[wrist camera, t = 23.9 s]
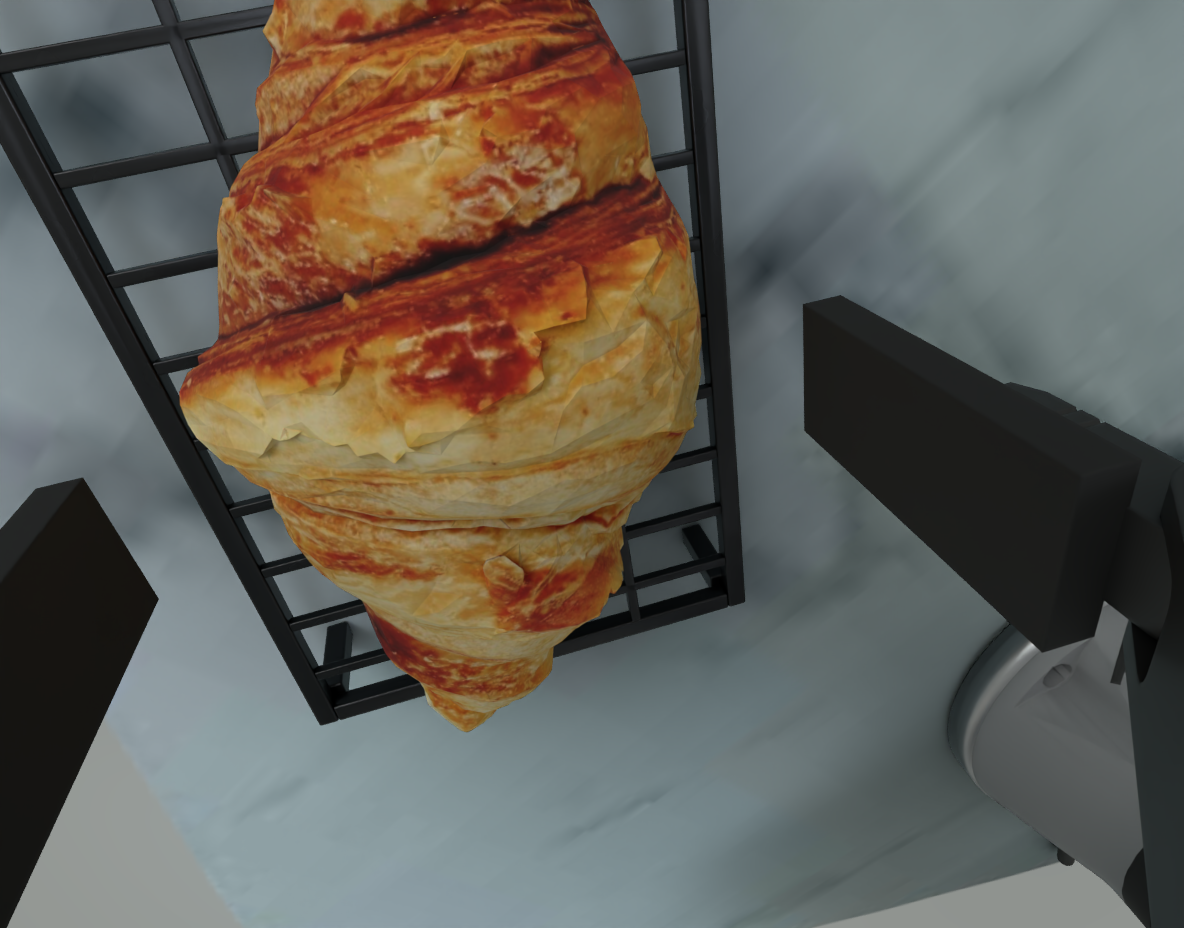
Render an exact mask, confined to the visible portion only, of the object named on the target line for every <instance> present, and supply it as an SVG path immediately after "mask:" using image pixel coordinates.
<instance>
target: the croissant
mask: <svg viewBox="0 0 1184 928" xmlns="http://www.w3.org/2000/svg"><path fill="white" fill-rule="evenodd" d="M263 33H264V35H265V36H266V38H267V40H268V42H269V43H270V45H271V47H272V49H273V52H272V58H271V65H270V71H269V77H268V78H267V79H266V80H265V81H264V82H263V83H262V84H261V85H260V86H259V87H258V88H257V94H256V102H255V106H256V109H257V116H258V119H259V143H258V153H257V154H255V155H254V156H253V157H251V158H250V159H249V160H248V161H247V162H246V163H245V164H244V165H243V167H242V169H241V170H240V172H239V174H238V176H237V177H236V179H235V181H234V183H233V185H232V186H231V189H230V193H229V197H227V198H223V202H222V206H221V207H220V214H219V222H218V230H217V246H218V303H219V337H218V340H217V341H216V343H215V344H214V345H213V346H212V347H211V348H209V349H208V350H207V351H205V352H204V353H202V354H201V355H199V356H198V361H199V366H197V367H195V368H193V369H192V370H191V371H190V372H188V373H187V376H186V378H185V380H184V382H183V385H182V387H181V389H180V392H179V395H180V406H181V409H182V411H183V414H184V416H185V418H186V421H187V423H188V425H189V427H190V428H191V430H192V432H193V433H194V435H195V436H196V438H197V439H198V440H200V441H201V442H202V443H203V444H204V445H205V446H206V447H207V448H208V449H209V450H210V451H212V452H213V453H214V454H215V455H216V456H217V457H218V458H219V459H220V460H222V461H223V462H224V463H225V464H228V465H231V466H234V467H235V468H236V469H237V470H238V471H239V472H240V473H241V474H242V475H243V476H245V477H246V478H247V479H248V480H249V481H250V482H251V483H254V484H256V485H258V486H261V487H263V488H265V489H268V490H269V492H270V494H271V498H272V502H273V505H274V509H275V510H276V511H277V512H278V513H279V514H280V515H281V517H282V519H283V522H284V524H285V527H286V529H287V532H288V534H289V536H290V537H291V539H292V540H293V542H294V543H295V544H296V546H297V547H298V548H299V549H300V551H301V552H302V553H303V554H304V555H305V557H306V558H307V559H308V560H309V562H310V563H311V564H312V565H313V566H314V567H315V568H316V569H317V570H318V571H319V572H320V573H321V574H322V575H324V576H325V577H327V578H328V579H329V580H331V581H332V582H333V583H334V584H336V585H337V586H338V587H339V588H341V589H343V590H344V591H346V592H348V593H350V594H351V595H353V596H355V597H357V598H358V599H360V600H362V601H363V603H364V606H365V608H366V611H367V613H368V616H369V618H370V620H371V623H372V625H373V628H374V630H375V633H376V635H377V637H378V639H379V641H380V643H381V645H382V647H383V649H384V651H385V653H386V655H387V656H388V657H389V658H390V660H391V661H392V662H393V663H394V664H395V666H396V667H398V668H399V669H401V670H402V671H404V672H405V673H407V674H409V675H410V676H412V677H413V678H415V679H416V680H418V681H419V682H420V683H421V685H422V686H423V688H424V690H425V694H426V698H427V702H428V705H430V706H431V707H432V708H433V709H434V710H435V711H437V712H438V713H439V714H440V715H441V716H442V717H444V718H445V719H446V720H448V721H449V722H450V723H451V724H453V725H454V726H455V727H457V728H458V729H459V730H461V731H464V732H469V731H471V730H473V729H474V728H476V727H478V726H479V725H481V724H482V723H484V722H485V721H486V719H488V718H490V717H491V716H492V715H493V714H494V712H495V711H496V710H497V709H499V708H501V707H504V706H507V705H509V704H510V703H511V702H513V701H515V700H518V699H521V698H523V697H524V696H526V695H527V694H529V693H531V692H532V691H533V690H534V689H535V688H536V687H537V686H538V685H539V684H540V683H541V682H542V681H543V680H544V679H545V678H546V677H547V676H548V675H549V674H550V672H551V670H552V663H553V646H555V645H557V644H558V643H560V642H562V641H563V640H564V639H565V638H566V637H567V636H568V635H569V634H570V633H571V632H573V631H574V630H575V629H576V628H578V627H580V626H581V625H583V624H584V623H586V622H587V621H589V620H592V619H594V618H596V617H598V616H600V613H601V610H602V608H603V606H604V605H605V604H606V603H607V601H608V597H609V593H612V594H615V593H616V591H617V590H618V589H619V588H620V586H621V584H622V580H623V576H622V571H624V570H623V562H622V558H621V553H620V550H621V548H622V546H623V544H624V542H623V535H622V527H621V526H622V525H624V524H625V523H626V522H627V519H628V516H629V513H630V510H631V507H632V504H634V503H636V502H638V501H639V500H640V497H641V495H642V492H643V490H644V489H645V488H646V487H648V486H649V484H650V482H651V480H652V479H653V478H654V477H655V476H656V475H657V474H658V473H659V472H660V471H661V470H662V469H663V468H664V467H665V466H666V465H667V464H668V463H669V461H670V460H671V459H672V457H673V456H674V455H675V453H676V452H677V451H678V449H679V447H680V445H681V443H682V441H683V439H684V437H685V435H686V432H687V431H688V430H690V429H692V428H694V422H693V420H694V419H695V417H696V416H697V412H696V407H695V403H696V398H697V393H698V388H699V383H700V378H701V369H700V363H699V354H700V349H701V344H702V339H701V321H700V308H699V301H698V294H697V288H696V284H695V280H694V276H693V269H692V261H691V252H690V244H689V236H688V234H687V231H686V229H685V227H684V224H683V222H682V220H681V218H680V216H679V214H678V212H677V211H676V209H675V207H674V205H673V204H672V202H671V200H670V199H669V197H668V195H667V194H666V192H665V190H664V188H663V187H662V185H661V183H660V181H659V179H658V178H657V175H656V172H655V169H654V165H653V162H652V159H651V152H650V145H649V138H648V130H647V127H646V124H645V122H644V120H643V117H642V115H641V103H640V99H639V96H638V92H637V88H636V85H635V81H634V79H633V77H632V74H631V72H630V71H629V69H628V68H627V66H626V65H625V64H624V62H623V61H622V59H621V58H620V56H619V54H618V53H617V51H616V49H615V47H614V45H613V44H612V42H611V40H610V38H609V37H608V35H607V33H606V31H605V29H604V28H603V26H602V24H601V22H600V20H599V17H598V15H597V13H596V11H595V10H594V8H593V7H592V5H591V4H590V2H589V1H588V0H275V1H274V5H273V10H272V14H271V16H270V18H269V20H268V22H267V24H266V26H265V28H264V30H263Z"/></svg>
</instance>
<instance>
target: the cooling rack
mask: <svg viewBox="0 0 1184 928" xmlns="http://www.w3.org/2000/svg"><path fill="white" fill-rule="evenodd" d="M152 2H153V4H154V7H155V9H156V12H157V14H158V17H159V19H160V22H161V24H162V25H158V26H152V27H147V28H141V29H136V30H130V31H124V32H119V33H113V34H107V35H102V36H96V37H91V38H85V39H79V40H74V41H68V42H62V43H57V44H51V45H46V46H40V47H34V48H29V49H23V50H17V51H12V52H6V53H2V52H1V50H0V144H1V145H2V147H3V149H4V151H5V153H6V154H7V156H8V158H9V160H10V162H11V164H12V165H13V167H14V169H15V171H16V173H17V175H18V176H19V178H20V180H21V182H22V184H23V185H24V187H25V189H26V191H27V193H28V195H29V196H30V198H31V200H32V202H33V204H34V205H35V207H36V209H37V211H38V213H39V215H40V216H41V218H42V220H43V222H44V224H45V225H46V227H47V229H48V231H49V233H50V235H51V236H52V238H53V240H54V242H55V244H56V245H57V247H58V249H59V251H60V253H61V255H62V256H63V258H64V260H65V262H66V264H67V266H68V267H69V269H70V271H71V273H72V275H73V276H74V278H75V280H76V282H77V284H78V286H79V287H80V289H81V291H82V293H83V295H84V296H85V298H86V300H87V302H88V304H89V306H90V307H91V309H92V311H93V313H94V315H95V316H96V318H97V320H98V322H99V324H100V326H101V327H102V329H103V331H104V333H105V335H106V337H107V338H108V340H109V342H110V344H111V346H112V347H113V349H114V351H115V353H116V355H117V357H118V358H119V360H120V362H121V364H122V366H123V367H124V369H125V371H126V373H127V375H128V377H129V378H130V380H131V382H132V384H133V386H134V387H135V389H136V391H137V393H138V395H139V397H140V398H141V400H142V402H143V404H144V406H145V408H146V409H147V411H148V413H149V415H150V417H151V418H152V420H153V422H154V424H155V426H156V428H157V429H158V431H159V433H160V435H161V437H162V438H163V440H164V442H165V444H166V446H167V448H168V449H169V451H170V453H171V455H172V457H173V458H174V460H175V462H176V464H177V466H178V468H179V469H180V471H181V473H182V475H183V477H184V479H185V480H186V482H187V484H188V486H189V488H190V489H191V491H192V493H193V495H194V497H195V499H196V500H197V502H198V504H199V506H200V508H201V509H202V511H203V513H204V515H205V517H206V519H207V520H208V522H209V524H210V526H211V528H212V529H213V531H214V533H215V535H216V537H217V539H218V540H219V542H220V544H221V546H222V548H223V549H224V551H225V553H226V555H227V557H228V559H229V560H230V562H231V564H232V566H233V568H234V570H235V571H236V573H237V575H238V577H239V579H240V580H241V582H242V584H243V586H244V588H245V590H246V591H247V593H248V595H249V597H250V599H251V600H252V602H253V604H254V606H255V608H256V610H257V611H258V613H259V615H260V617H261V619H262V620H263V622H264V624H265V626H266V628H267V630H268V631H269V633H270V635H271V637H272V639H273V641H274V642H275V644H276V646H277V648H278V650H279V651H280V653H281V655H282V657H283V659H284V661H285V662H286V664H287V666H288V668H289V670H290V671H291V673H292V675H293V677H294V679H295V681H296V682H297V684H298V686H299V688H300V690H301V691H302V693H303V695H304V697H305V699H306V701H307V702H308V704H309V706H310V708H311V710H312V712H313V713H314V715H315V717H316V719H317V721H318V722H319V724H320V725H325V724H329V723H332V722H336V721H338V720H339V719H340V720H342V719H346V718H349V717H353V716H356V715H360V714H363V713H367V712H370V711H373V710H377V709H380V708H384V707H387V706H391V705H394V704H397V703H401V702H404V701H408V700H411V699H415V698H418V697H422V696H425V695H426V694H425V690H424V688H423V686H422V685H421V683H420V682H419V681H418V680H416V679H415V678H413V677H412V676H410V675H409V674H405V675H402V676H398V677H395V678H391V679H388V680H384V681H381V682H377V683H374V684H370V685H367V686H363V687H360V688H356V689H353V690H349V679H350V671H353V670H356V669H360V668H363V667H367V666H370V665H374V664H377V663H381V662H384V661H388V660H390V658H389V657H388V656H387V655H386V653H385V651H384V649H383V648H381V649H378V650H374V651H371V652H367V653H364V654H360V655H356V656H353V657H351V653H352V640H353V634H352V632H351V630H350V627H349V625H348V623H347V622H343V623H339V624H335V625H332V626H329V627H328V628H327V636H326V644H325V652H324V661H323V665H321V666H318V664H317V662H316V660H315V658H314V656H313V654H312V652H311V650H310V648H309V646H308V644H307V642H306V640H305V639H304V637H303V635H302V633H301V631H300V630H302V629H305V628H309V627H313V626H316V625H320V624H324V623H327V622H331V621H334V620H338V619H342V618H345V617H349V616H353V615H356V614H360V613H363V612H367V611H366V608H365V606H364V603H363V601H362V600H360V599H359V600H355V601H351V602H348V603H344V604H340V605H337V606H333V607H329V608H326V609H322V610H318V611H315V612H311V613H307V614H304V615H300V616H296V617H293V615H292V613H291V611H290V610H289V608H288V606H287V604H286V602H285V600H284V598H283V596H282V594H281V592H280V590H279V588H278V586H277V584H276V582H275V580H274V579H273V577H272V576H275V575H279V574H283V573H287V572H290V571H294V570H298V569H302V568H306V567H309V566H313V565H312V564H311V563H310V562H309V560H308V559H307V558H306V557H305V555H304V554H303V553H302V554H299V555H295V556H291V557H287V558H283V559H280V560H276V561H272V562H268V563H265V561H264V559H263V557H262V555H261V553H260V551H259V549H258V548H257V546H256V544H255V542H254V540H253V538H252V536H251V534H250V532H249V530H248V528H247V526H246V524H245V522H244V520H243V519H242V517H241V516H245V515H249V514H253V513H257V512H261V511H265V510H269V509H273V508H274V505H273V502H272V498H271V494H267V495H263V496H259V497H255V498H252V499H248V500H244V501H240V502H236V503H234V501H233V499H232V497H231V495H230V493H229V491H228V489H227V488H226V486H225V484H224V482H223V480H222V478H221V476H220V474H219V472H218V470H217V468H216V466H215V464H214V462H213V460H212V458H211V457H210V455H209V453H208V451H207V449H208V448H207V447H206V446H205V445H204V444H203V443H202V442H201V441H200V440H198V439H197V438H196V436H195V435H194V433H193V432H192V430H191V428H190V427H189V425H188V423H187V421H186V418H185V416H184V414H183V411H182V409H181V406H180V397H179V395H178V393H177V391H176V389H175V387H174V385H173V383H172V381H171V379H170V377H169V375H168V373H172V372H176V371H180V370H185V369H189V368H193V367H197V366H199V361H198V356H199V355H201V354H202V353H204V352H205V351H207V350H208V349H209V348H211V347H208V348H203V349H199V350H195V351H190V352H186V353H182V354H177V355H173V356H168V357H164V358H159V356H158V354H157V352H156V350H155V348H154V346H153V344H152V342H151V340H150V338H149V336H148V335H147V333H146V331H145V329H144V327H143V325H142V323H141V321H140V319H139V317H138V315H137V313H136V311H135V309H134V307H133V305H132V304H131V302H130V300H129V298H128V296H127V294H126V292H125V290H124V288H123V287H125V286H130V285H135V284H139V283H144V282H148V281H153V280H158V279H162V278H167V277H172V276H176V275H181V274H185V273H190V272H195V271H199V270H204V269H209V268H213V267H218V249H216V250H211V251H207V252H202V253H197V254H193V255H188V256H183V257H178V258H174V259H169V260H164V261H160V262H155V263H150V264H146V265H141V266H136V267H132V268H127V269H122V270H118V271H114V269H113V267H112V265H111V263H110V261H109V259H108V257H107V255H106V253H105V251H104V249H103V247H102V245H101V244H100V242H99V240H98V238H97V236H96V234H95V232H94V230H93V228H92V226H91V224H90V222H89V220H88V218H87V216H86V214H85V213H84V211H83V209H82V207H81V205H80V203H79V201H78V199H77V197H76V195H75V193H74V191H73V189H72V187H77V186H82V185H87V184H92V183H97V182H102V181H107V180H112V179H117V178H122V177H127V176H132V175H137V174H142V173H147V172H152V171H158V170H163V169H168V168H173V167H178V166H183V165H188V164H193V163H198V162H203V161H208V160H213V159H217V162H218V164H219V167H220V169H221V172H222V174H223V177H224V179H225V181H226V184H227V186H228V189H229V191H230V189H231V186H232V185H233V183H234V181H235V179H236V177H237V176H238V174H239V172H240V169H239V166H238V164H237V161H236V159H235V156H234V155H238V154H243V153H248V152H253V151H258V143H259V132H257V133H252V134H247V135H242V136H237V137H232V138H227V136H226V133H225V131H224V128H223V126H222V123H221V120H220V118H219V115H218V113H217V110H216V108H215V105H214V103H213V100H212V98H211V95H210V92H209V90H208V87H207V85H206V82H205V80H204V77H203V75H202V72H201V70H200V67H199V64H198V62H197V59H196V57H195V54H194V52H193V49H192V47H191V44H190V42H189V41H190V40H196V39H201V38H207V37H213V36H218V35H224V34H229V33H235V32H240V31H246V30H251V29H257V28H262V27H265V26H266V24H267V22H268V20H269V18H270V16H271V14H272V10H273V5H271V6H265V7H259V8H254V9H248V10H242V11H237V12H231V13H226V14H220V15H214V16H209V17H203V18H197V19H192V20H186V21H181V19H180V16H179V14H178V11H177V9H176V6H175V3H174V1H173V0H152ZM673 2H674V14H675V26H676V38H677V50H673V51H668V52H663V53H658V54H653V55H648V56H643V57H638V58H633V59H628V60H623V62H624V64H625V65H626V66H627V68H628V69H629V71H630V72H631V74H632V76H633V75H638V74H643V73H648V72H653V71H658V70H663V69H668V68H673V67H678V66H679V74H680V86H681V98H682V110H683V122H684V134H685V146H686V149H684V150H680V151H675V152H670V153H665V154H661V155H656V156H651V159H652V162H653V165H654V169H655V172H657V171H662V170H666V169H671V168H676V167H680V166H685V165H687V170H688V182H689V194H690V206H691V218H692V230H693V237H690V238H689V244H690V252H691V253H692V252H694V255H695V267H696V279H697V291H698V301H699V308H700V321H701V339H702V351H703V363H704V375H705V384H702V385H699V388H698V393H697V398H696V400H699V399H703V398H706V399H707V411H708V423H709V435H710V446H708V447H705V448H701V449H697V450H693V451H689V452H686V453H682V454H678V455H674V456H673V457H672V459H671V460H670V461H669V463H668V464H667V465H666V466H665V467H664V468H663V469H662V470H661V471H660V472H659V473H663V472H667V471H670V470H674V469H678V468H682V467H685V466H689V465H693V464H697V463H700V462H704V461H708V460H712V471H713V483H714V495H715V502H714V503H710V504H707V505H703V506H699V507H696V508H692V509H688V510H685V511H681V512H677V513H674V514H670V515H666V516H663V517H659V518H655V519H652V520H648V521H644V522H641V523H637V524H633V525H630V526H625V524H624V525H622V526H621V527H622V535H623V542H624V544H623V546H622V548H621V550H620V553H621V558H622V562H623V570H624V571H622V574H623V581H622V584H621V586H620V588H619V589H618V590H617V591H616V593H615V594H612V593H609V597H608V598H610V597H613V596H617V595H620V594H624V593H626V596H627V602H628V608H629V610H628V611H625V612H621V613H618V614H614V615H611V616H607V617H604V618H600V619H597V620H593V621H590V622H586V623H584V624H583V625H581V626H580V627H578V628H576V629H575V630H574V631H573V632H571V633H570V634H569V635H568V636H567V637H566V638H565V639H564V640H563V641H562V642H560V643H558V644H557V645H555V646H553V658H555V657H559V656H562V655H566V654H569V653H573V652H576V651H580V650H583V649H586V648H590V647H593V646H597V645H600V644H604V643H607V642H610V641H614V640H617V639H621V638H624V637H628V636H631V635H635V634H638V633H641V632H645V631H648V630H652V629H655V628H659V627H662V626H665V625H669V624H672V623H676V622H679V621H683V620H686V619H689V618H693V617H696V616H700V615H703V614H707V613H710V612H714V611H717V610H720V609H724V608H727V607H728V605H729V606H734V605H738V604H741V603H744V602H745V589H744V573H743V557H742V540H741V524H740V508H739V492H738V475H737V459H736V443H735V426H734V410H733V394H732V378H731V361H730V345H729V329H728V312H727V296H726V280H725V263H724V247H723V231H722V215H721V198H720V182H719V166H718V149H717V133H716V117H715V101H714V84H713V68H712V52H711V35H710V19H709V3H708V0H673ZM168 44H170V46H171V49H172V51H173V54H174V56H175V59H176V61H177V63H178V66H179V68H180V71H181V73H182V76H183V78H184V81H185V83H186V86H187V88H188V90H189V93H190V95H191V98H192V100H193V103H194V105H195V108H196V110H197V113H198V115H199V118H200V120H201V122H202V125H203V127H204V130H205V132H206V135H207V137H208V140H209V142H206V143H201V144H196V145H191V146H186V147H181V148H176V149H171V150H165V151H160V152H155V153H150V154H145V155H140V156H135V157H130V158H125V159H120V160H115V161H110V162H105V163H99V164H94V165H89V166H84V167H79V168H74V169H69V170H64V171H63V170H62V168H61V166H60V164H59V162H58V160H57V158H56V156H55V154H54V153H53V151H52V149H51V147H50V145H49V143H48V141H47V139H46V137H45V135H44V133H43V131H42V129H41V127H40V125H39V123H38V122H37V120H36V118H35V116H34V114H33V112H32V110H31V108H30V106H29V104H28V102H27V100H26V98H25V96H24V94H23V92H22V91H21V89H20V87H19V85H18V83H17V81H16V79H15V77H14V75H13V73H14V72H19V71H25V70H30V69H36V68H41V67H47V66H52V65H58V64H63V63H69V62H74V61H80V60H85V59H91V58H96V57H102V56H108V55H113V54H119V53H124V52H130V51H135V50H141V49H146V48H152V47H157V46H163V45H168ZM659 473H658V474H659ZM712 516H716V519H717V531H718V543H719V553H717V551H716V550H715V548H714V547H713V545H712V543H711V542H710V540H709V539H708V537H707V536H706V534H705V532H704V531H703V529H702V528H701V526H700V525H699V524H697V525H693V526H690V527H686V528H683V529H682V535H683V543H684V545H685V546H686V548H687V550H688V552H689V553H690V555H691V557H692V559H693V560H694V561H690V562H687V563H683V564H679V565H676V566H672V567H669V568H665V569H662V570H658V571H655V572H651V573H648V574H644V575H640V576H637V577H634V574H633V568H632V562H631V556H630V550H629V544H628V540H629V539H632V538H636V537H640V536H643V535H647V534H650V533H654V532H658V531H661V530H665V529H669V528H672V527H676V526H680V525H683V524H687V523H690V522H694V521H698V520H701V519H705V518H709V517H712ZM698 572H700V573H701V574H702V576H703V578H704V580H705V581H706V583H707V585H708V588H705V589H701V590H698V591H694V592H691V593H687V594H684V595H680V596H677V597H674V598H670V599H667V600H663V601H660V602H656V603H653V604H649V605H646V606H642V607H639V604H638V598H637V592H636V590H638V589H641V588H645V587H648V586H652V585H656V584H659V583H663V582H666V581H670V580H673V579H677V578H680V577H684V576H687V575H691V574H694V573H698Z"/></svg>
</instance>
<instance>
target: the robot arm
mask: <svg viewBox="0 0 1184 928" xmlns="http://www.w3.org/2000/svg"><path fill="white" fill-rule="evenodd" d="M803 345H804V431H805V432H806V433H807V434H809V435H810V436H811V437H812V438H813V439H814V440H815V441H816V442H817V443H818V444H819V445H820V446H821V447H822V448H824V449H825V450H826V451H827V452H828V453H829V454H830V455H831V456H832V457H833V458H834V459H835V460H836V461H837V462H839V463H840V464H841V465H842V466H843V467H844V468H845V469H846V470H847V471H848V472H849V473H850V474H851V475H852V476H853V477H855V478H856V479H857V480H858V481H859V482H860V483H861V484H862V485H863V486H864V487H865V488H866V489H867V490H868V491H870V492H871V493H872V494H873V495H874V496H875V497H876V498H877V499H878V500H879V501H880V502H881V503H882V504H883V505H885V506H886V507H887V508H888V509H889V510H890V511H891V512H892V513H893V514H894V515H895V516H896V517H897V518H898V519H899V520H901V521H902V522H903V523H904V524H905V525H906V526H907V527H908V528H909V529H910V530H911V531H912V532H913V533H914V534H916V535H917V536H918V537H919V538H920V539H921V540H922V541H923V542H924V543H925V544H926V545H927V546H928V547H929V548H931V549H932V550H933V551H934V552H935V553H936V554H937V555H938V556H939V557H940V558H941V559H942V560H943V561H944V562H946V563H947V564H948V565H949V566H950V567H951V568H952V569H953V570H954V571H955V572H956V573H957V574H958V575H959V576H960V577H962V578H963V579H964V580H965V581H966V582H967V583H968V584H969V585H970V586H971V587H972V588H973V589H974V590H975V591H977V592H978V593H979V594H980V595H981V596H982V597H983V598H984V599H985V600H986V601H987V602H988V603H989V604H990V605H992V606H993V607H994V608H995V609H996V610H997V611H998V612H999V613H1000V614H1001V615H1002V616H1003V617H1004V618H1005V619H1006V620H1008V621H1009V622H1010V623H1011V624H1010V625H1009V626H1008V627H1007V628H1006V629H1005V630H1004V631H1003V632H1002V633H1001V634H1000V635H999V636H998V637H997V638H996V639H995V640H994V641H993V642H992V643H991V644H990V646H989V647H988V648H987V649H986V650H985V651H984V652H983V654H982V655H981V656H980V658H979V659H978V660H977V661H976V663H975V664H974V666H973V667H972V668H971V670H970V671H969V673H968V675H967V676H966V678H965V680H964V681H963V683H962V685H961V687H960V689H959V691H958V693H957V695H956V697H955V700H954V703H953V705H952V708H951V712H950V716H949V722H948V740H949V744H950V748H951V750H952V752H953V754H954V756H955V757H956V759H957V760H958V762H959V763H960V764H961V765H962V767H963V768H964V769H965V771H966V772H967V773H968V774H969V776H970V777H971V778H972V780H973V781H974V782H975V783H976V785H977V786H978V787H979V788H980V789H981V790H982V791H983V792H984V793H985V794H986V795H987V796H989V797H990V798H992V799H993V800H994V801H996V802H997V803H998V804H1000V805H1001V806H1003V807H1004V808H1007V809H1008V810H1009V811H1011V812H1012V813H1013V814H1014V815H1016V816H1017V817H1018V818H1020V819H1021V820H1022V821H1023V822H1025V823H1026V824H1027V825H1029V826H1030V827H1031V828H1033V829H1034V830H1035V831H1037V832H1038V833H1039V834H1041V835H1042V836H1044V837H1045V838H1046V839H1048V840H1049V841H1050V842H1052V843H1053V844H1054V845H1056V846H1057V847H1058V852H1057V857H1058V860H1059V861H1060V862H1061V863H1062V864H1064V865H1066V866H1070V865H1073V863H1074V860H1076V861H1078V862H1079V863H1081V864H1082V865H1083V866H1085V867H1086V868H1087V869H1089V870H1090V871H1092V872H1093V873H1094V874H1096V875H1097V876H1098V877H1100V878H1101V879H1102V880H1104V881H1105V882H1106V883H1107V884H1108V885H1109V886H1110V887H1111V888H1112V889H1113V890H1114V891H1115V892H1116V893H1117V894H1118V896H1120V898H1121V899H1122V900H1123V901H1124V902H1125V904H1126V905H1127V906H1128V907H1129V908H1130V909H1131V911H1132V912H1133V913H1134V914H1135V915H1136V916H1137V918H1138V919H1139V920H1140V921H1141V922H1142V923H1143V925H1144V926H1145V927H1146V928H1184V463H1183V462H1181V461H1179V460H1177V459H1175V458H1173V457H1171V456H1169V455H1167V454H1165V453H1164V452H1162V451H1160V450H1158V449H1156V448H1154V447H1152V446H1150V445H1148V444H1146V443H1144V442H1142V441H1140V440H1139V439H1137V438H1135V437H1133V436H1131V435H1129V434H1127V433H1125V432H1123V431H1121V430H1119V429H1117V428H1115V427H1114V426H1112V425H1110V424H1108V423H1106V422H1105V423H1100V421H1099V419H1098V418H1096V417H1094V416H1092V415H1090V414H1088V413H1087V412H1085V411H1083V410H1079V411H1077V410H1076V407H1075V406H1073V405H1071V404H1069V403H1067V402H1065V401H1063V400H1062V399H1060V398H1058V397H1056V396H1054V395H1052V394H1050V393H1048V392H1045V391H1041V390H1038V389H1034V388H1030V387H1026V386H1023V385H1019V384H1015V383H1011V382H1010V383H1007V384H1003V383H1001V382H999V381H997V380H996V379H994V378H992V377H990V376H988V375H986V374H984V373H983V372H981V371H979V370H977V369H975V368H973V367H972V366H970V365H968V364H966V363H964V362H962V361H961V360H959V359H957V358H955V357H953V356H951V355H950V354H948V353H946V352H944V351H942V350H940V349H939V348H937V347H935V346H933V345H931V344H929V343H927V342H926V341H924V340H922V339H920V338H918V337H916V336H915V335H913V334H911V333H909V332H907V331H905V330H904V329H902V328H900V327H898V326H896V325H894V324H893V323H891V322H889V321H887V320H885V319H883V318H881V317H880V316H878V315H876V314H874V313H872V312H870V311H869V310H867V309H865V308H863V307H861V306H859V305H858V304H856V303H854V302H852V301H850V300H848V299H847V298H845V297H843V296H841V295H839V296H835V297H831V298H827V299H823V300H819V301H814V302H810V303H806V304H803ZM158 600H159V599H158V597H157V595H156V594H155V592H154V591H153V589H152V587H151V586H150V584H149V583H148V581H147V579H146V578H145V576H144V575H143V573H142V571H141V570H140V568H139V567H138V565H137V563H136V562H135V560H134V559H133V557H132V555H131V554H130V552H129V550H128V549H127V547H126V546H125V544H124V542H123V541H122V539H121V538H120V536H119V534H118V533H117V531H116V530H115V528H114V526H113V525H112V523H111V522H110V520H109V518H108V517H107V515H106V514H105V512H104V510H103V509H102V507H101V506H100V504H99V502H98V501H97V499H96V498H95V496H94V494H93V493H92V491H91V490H90V488H89V486H88V485H87V483H86V482H85V480H84V478H79V479H75V480H70V481H66V482H62V483H58V484H54V485H50V486H45V487H41V488H37V489H35V490H34V491H33V493H32V494H31V495H30V496H29V497H28V498H27V500H26V501H25V502H24V503H23V504H22V505H21V506H20V508H19V509H18V510H17V511H16V512H15V513H14V514H13V516H12V517H11V518H10V519H9V520H8V521H7V523H6V524H5V525H4V526H3V527H2V528H1V529H0V928H7V926H8V924H9V921H10V919H11V917H12V915H13V913H14V911H15V908H16V906H17V904H18V902H19V900H20V898H21V896H22V893H23V891H24V889H25V887H26V885H27V883H28V880H29V878H30V876H31V874H32V872H33V870H34V868H35V865H36V863H37V861H38V859H39V856H40V854H41V852H42V850H43V848H44V846H45V844H46V841H47V839H48V837H49V835H50V833H51V831H52V829H53V826H54V824H55V822H56V820H57V818H58V816H59V814H60V811H61V809H62V807H63V805H64V803H65V800H66V798H67V796H68V794H69V792H70V789H71V788H72V785H73V783H74V781H75V779H76V777H77V775H78V772H79V770H80V768H81V766H82V764H83V762H84V759H85V757H86V755H87V753H88V751H89V748H90V747H91V744H92V742H93V740H94V738H95V736H96V734H97V731H98V729H99V727H100V725H101V723H102V721H103V718H104V716H105V714H106V712H107V710H108V708H109V705H110V703H111V701H112V699H113V697H114V695H115V692H116V690H117V688H118V686H119V684H120V682H121V680H122V677H123V675H124V673H125V671H126V669H127V667H128V664H129V662H130V660H131V658H132V656H133V654H134V651H135V649H136V647H137V645H138V643H139V641H140V638H141V636H142V634H143V632H144V630H145V628H146V625H147V623H148V621H149V619H150V617H151V615H152V613H153V610H154V608H155V606H156V604H157V602H158Z"/></svg>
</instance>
